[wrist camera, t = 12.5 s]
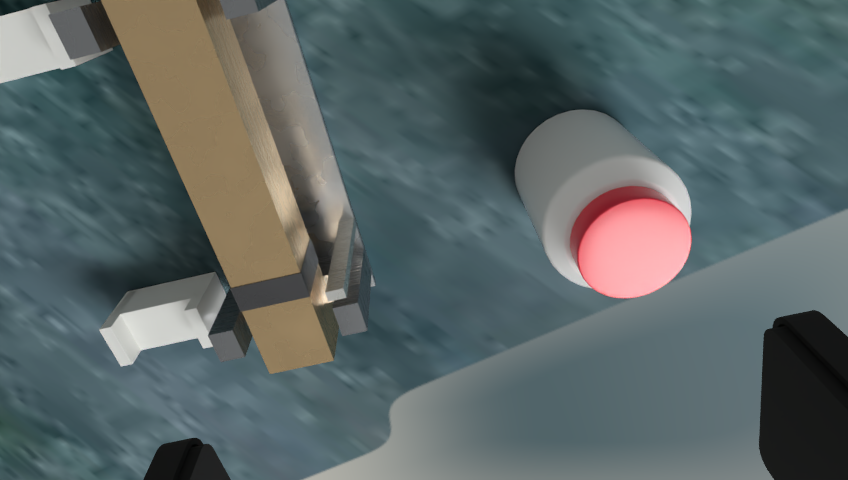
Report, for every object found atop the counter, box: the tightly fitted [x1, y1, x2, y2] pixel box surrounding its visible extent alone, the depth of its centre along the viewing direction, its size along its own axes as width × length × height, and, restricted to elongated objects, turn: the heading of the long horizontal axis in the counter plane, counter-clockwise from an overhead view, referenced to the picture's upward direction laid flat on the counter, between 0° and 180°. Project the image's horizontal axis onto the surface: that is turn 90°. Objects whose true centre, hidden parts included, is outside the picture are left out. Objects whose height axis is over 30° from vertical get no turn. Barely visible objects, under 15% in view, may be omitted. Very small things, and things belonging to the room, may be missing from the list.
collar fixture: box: [48, 0, 376, 362], centre depth 33 cm, size 22×9×9 cm, turn 13°
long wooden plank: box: [101, 0, 339, 374], centre depth 33 cm, size 23×4×4 cm, turn 13°
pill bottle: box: [515, 109, 692, 298], centre depth 33 cm, size 8×8×11 cm
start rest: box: [0, 0, 226, 366], centre depth 36 cm, size 21×6×4 cm, turn 13°
